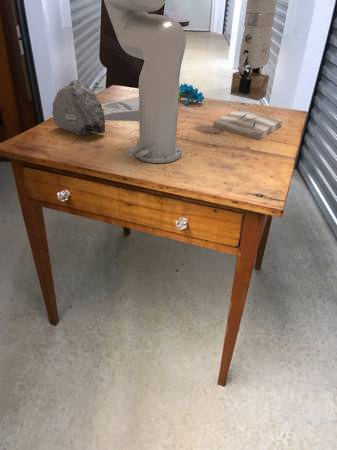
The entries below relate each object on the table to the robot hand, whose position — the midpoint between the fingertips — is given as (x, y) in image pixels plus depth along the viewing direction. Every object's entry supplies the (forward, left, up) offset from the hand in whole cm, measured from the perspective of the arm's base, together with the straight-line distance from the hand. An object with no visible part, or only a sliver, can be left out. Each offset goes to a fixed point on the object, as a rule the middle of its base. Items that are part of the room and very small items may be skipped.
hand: (248, 90), depth 106 cm
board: (+4, 0, -12) cm, 12 cm away
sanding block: (0, 0, -2) cm, 2 cm away
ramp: (-14, +34, -13) cm, 39 cm away
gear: (+12, +28, -12) cm, 33 cm away
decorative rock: (-36, +34, -12) cm, 51 cm away
